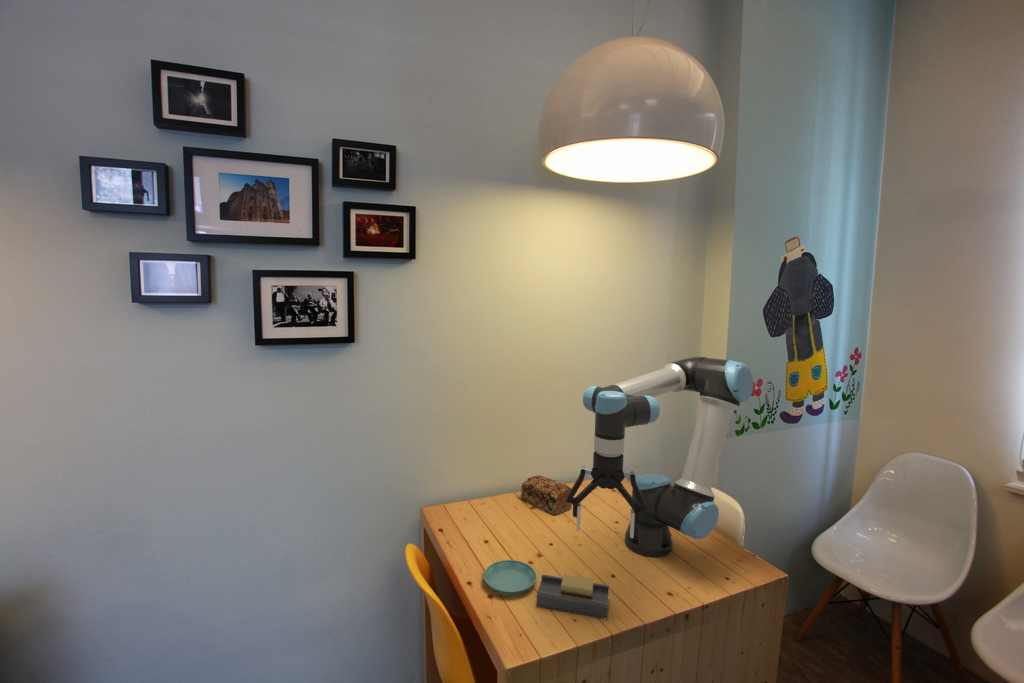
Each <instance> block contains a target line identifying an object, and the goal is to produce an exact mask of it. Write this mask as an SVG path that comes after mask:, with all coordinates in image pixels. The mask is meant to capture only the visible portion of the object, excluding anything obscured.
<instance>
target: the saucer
mask: <svg viewBox="0 0 1024 683" xmlns="http://www.w3.org/2000/svg"><path fill="white" fill-rule="evenodd" d="M483 578H484V581H485V583H486V585H487V586H488V587H489V588H490V589H491V590H493V591H494V592H496V593H498V594H499V595H503V596H510V597H511V596H518V595H521V594H523V593H525V592H527V591H528V590H530V589H531V588H532V587H533V586H534V584H535V583H536V581H537V572H536V571H535V569H534V568H533V567H532V566H530V565H529V564H528V563H525V562H522V561H520V560H515V559H504V560H498V561H496V562H494V563H493V562H492V563H491V564H490V565H488V566H487V567H486V569H485V570H484V572H483Z"/></svg>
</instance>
